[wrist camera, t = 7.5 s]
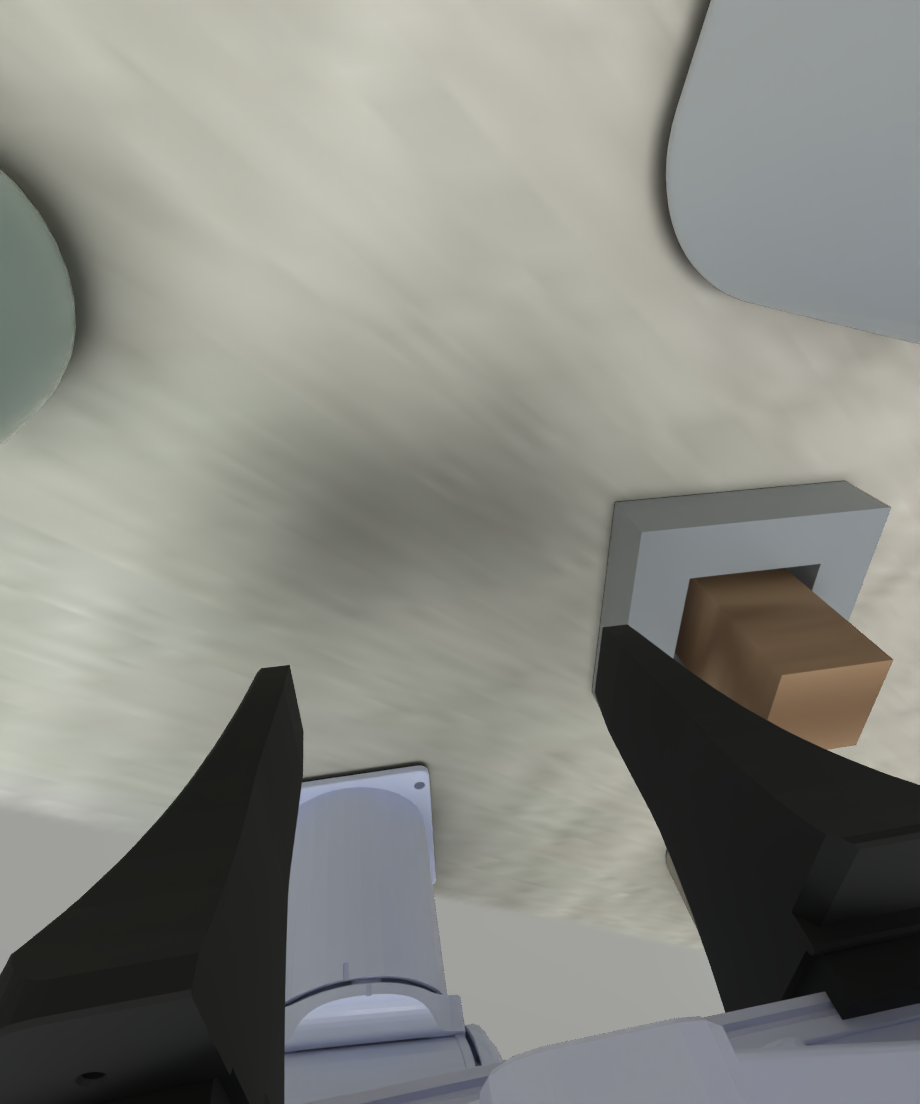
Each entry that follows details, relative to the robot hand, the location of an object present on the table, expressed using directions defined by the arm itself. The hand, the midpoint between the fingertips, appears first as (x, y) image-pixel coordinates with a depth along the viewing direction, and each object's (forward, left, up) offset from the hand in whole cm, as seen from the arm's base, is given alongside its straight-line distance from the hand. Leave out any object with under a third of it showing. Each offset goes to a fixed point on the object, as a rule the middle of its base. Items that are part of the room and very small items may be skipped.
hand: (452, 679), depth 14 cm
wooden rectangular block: (-6, -13, -10) cm, 17 cm away
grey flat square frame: (-6, -13, -10) cm, 17 cm away
